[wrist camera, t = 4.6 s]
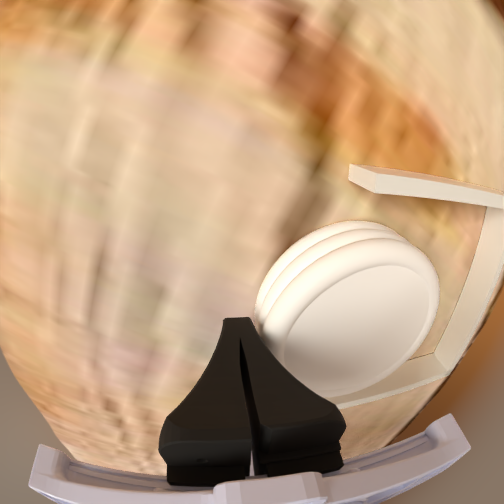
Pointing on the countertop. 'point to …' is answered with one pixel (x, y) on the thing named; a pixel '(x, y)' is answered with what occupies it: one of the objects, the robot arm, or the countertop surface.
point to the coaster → (347, 306)
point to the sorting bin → (474, 291)
